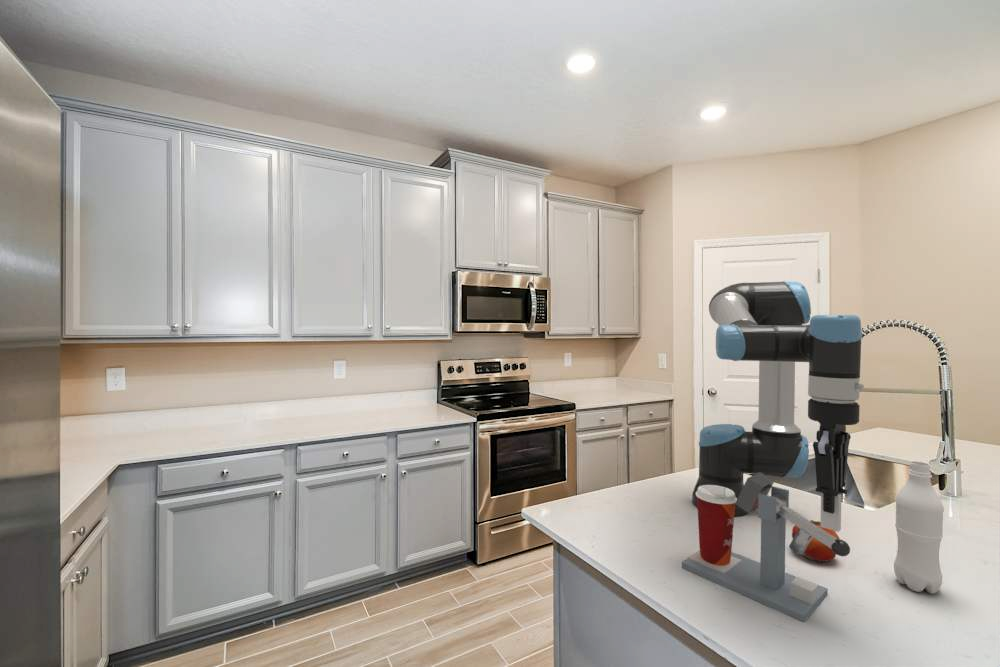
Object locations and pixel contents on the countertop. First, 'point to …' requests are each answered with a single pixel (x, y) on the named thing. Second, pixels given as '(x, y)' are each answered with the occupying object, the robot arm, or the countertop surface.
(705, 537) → the coffee cup
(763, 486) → the lever
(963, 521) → the countertop surface
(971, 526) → the countertop surface
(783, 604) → the frame
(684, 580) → the countertop surface
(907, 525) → the water bottle
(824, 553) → the tomato
